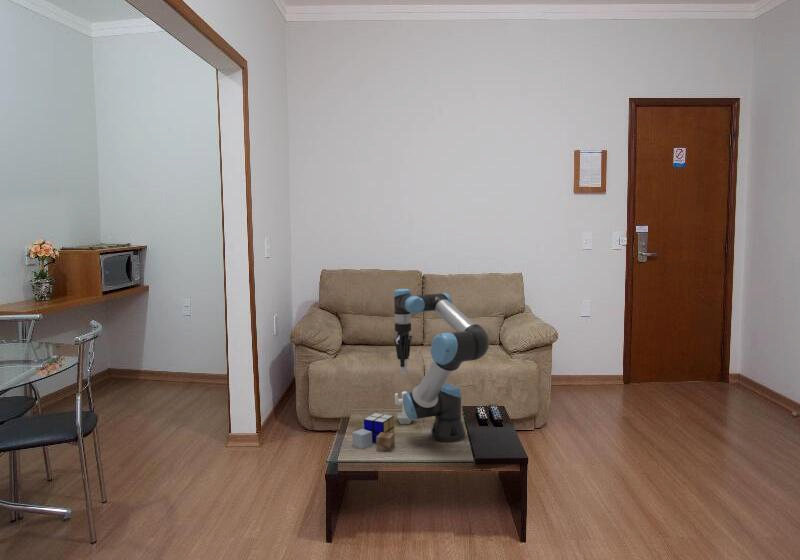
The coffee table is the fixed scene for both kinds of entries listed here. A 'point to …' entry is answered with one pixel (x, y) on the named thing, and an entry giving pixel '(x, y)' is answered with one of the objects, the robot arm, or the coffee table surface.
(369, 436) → the blue-grey block
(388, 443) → the walnut block
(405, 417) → the figurine
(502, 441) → the coffee table surface
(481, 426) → the coffee table surface
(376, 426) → the puzzle cube
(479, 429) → the coffee table surface
